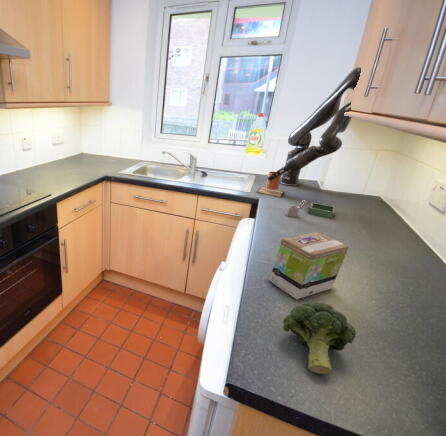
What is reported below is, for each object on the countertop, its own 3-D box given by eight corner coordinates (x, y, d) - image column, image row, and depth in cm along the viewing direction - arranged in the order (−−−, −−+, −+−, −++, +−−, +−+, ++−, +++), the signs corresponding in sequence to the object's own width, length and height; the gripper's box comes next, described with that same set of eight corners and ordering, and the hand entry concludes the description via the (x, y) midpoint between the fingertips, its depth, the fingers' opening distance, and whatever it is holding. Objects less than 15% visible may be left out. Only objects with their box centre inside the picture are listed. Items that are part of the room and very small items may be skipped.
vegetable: (271, 354, 61) (277, 292, 70) (302, 382, 66) (304, 320, 74) (338, 358, 52) (335, 286, 61) (370, 390, 56) (363, 319, 65)
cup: (272, 186, 176) (275, 171, 172) (280, 189, 170) (284, 174, 166) (263, 186, 174) (266, 171, 170) (271, 190, 168) (275, 174, 164)
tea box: (298, 301, 81) (313, 254, 75) (268, 281, 90) (280, 237, 84) (333, 289, 87) (350, 244, 81) (301, 271, 95) (315, 229, 89)
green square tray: (310, 207, 151) (311, 202, 149) (332, 212, 146) (334, 206, 144) (308, 213, 143) (310, 207, 142) (332, 218, 138) (334, 212, 137)
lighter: (287, 216, 139) (292, 200, 136) (286, 214, 141) (290, 198, 137) (303, 217, 139) (308, 201, 135) (301, 215, 140) (306, 199, 137)
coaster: (261, 187, 181) (261, 187, 180) (283, 191, 174) (283, 191, 174) (257, 192, 171) (257, 191, 171) (280, 197, 165) (280, 196, 165)
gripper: (298, 169, 153) (269, 186, 165) (307, 165, 162) (279, 181, 175) (289, 157, 154) (262, 174, 167) (299, 154, 164) (272, 171, 176)
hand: (271, 178), depth 171 cm, fingers closed on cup, 6 cm apart
